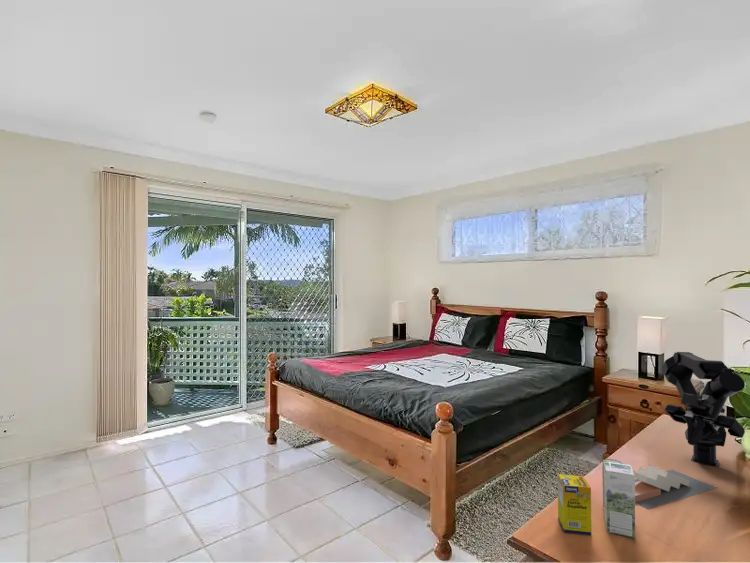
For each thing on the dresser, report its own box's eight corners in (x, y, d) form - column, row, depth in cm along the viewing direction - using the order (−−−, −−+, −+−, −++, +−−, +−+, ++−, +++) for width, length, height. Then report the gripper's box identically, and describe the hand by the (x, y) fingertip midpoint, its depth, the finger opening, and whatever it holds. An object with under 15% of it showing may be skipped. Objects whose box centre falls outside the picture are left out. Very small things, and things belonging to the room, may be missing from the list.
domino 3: (671, 473, 119) (649, 464, 115) (689, 480, 114) (667, 471, 111) (669, 478, 118) (647, 469, 115) (688, 486, 114) (666, 477, 110)
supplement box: (592, 536, 93) (591, 487, 93) (563, 533, 94) (563, 485, 94) (584, 521, 99) (583, 475, 99) (557, 518, 100) (557, 473, 100)
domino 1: (652, 477, 116) (629, 468, 112) (670, 485, 111) (647, 476, 108) (650, 483, 115) (627, 474, 112) (669, 491, 111) (645, 482, 107)
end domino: (642, 480, 114) (616, 487, 110) (660, 488, 109) (634, 496, 106) (642, 486, 114) (616, 493, 110) (660, 494, 109) (634, 502, 106)
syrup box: (632, 525, 97) (631, 463, 97) (636, 539, 91) (634, 474, 91) (604, 519, 99) (603, 459, 99) (606, 533, 94) (605, 469, 94)
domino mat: (672, 471, 124) (671, 469, 124) (717, 489, 113) (717, 487, 113) (605, 489, 114) (605, 487, 114) (648, 511, 102) (648, 509, 102)
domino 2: (661, 475, 117) (639, 466, 114) (680, 483, 112) (657, 474, 109) (660, 481, 117) (638, 472, 113) (679, 489, 112) (656, 480, 109)
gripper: (665, 377, 129) (642, 418, 125) (733, 388, 111) (709, 436, 107) (685, 399, 131) (664, 440, 127) (755, 413, 114) (733, 461, 109)
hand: (689, 444), depth 118 cm, fingers closed
